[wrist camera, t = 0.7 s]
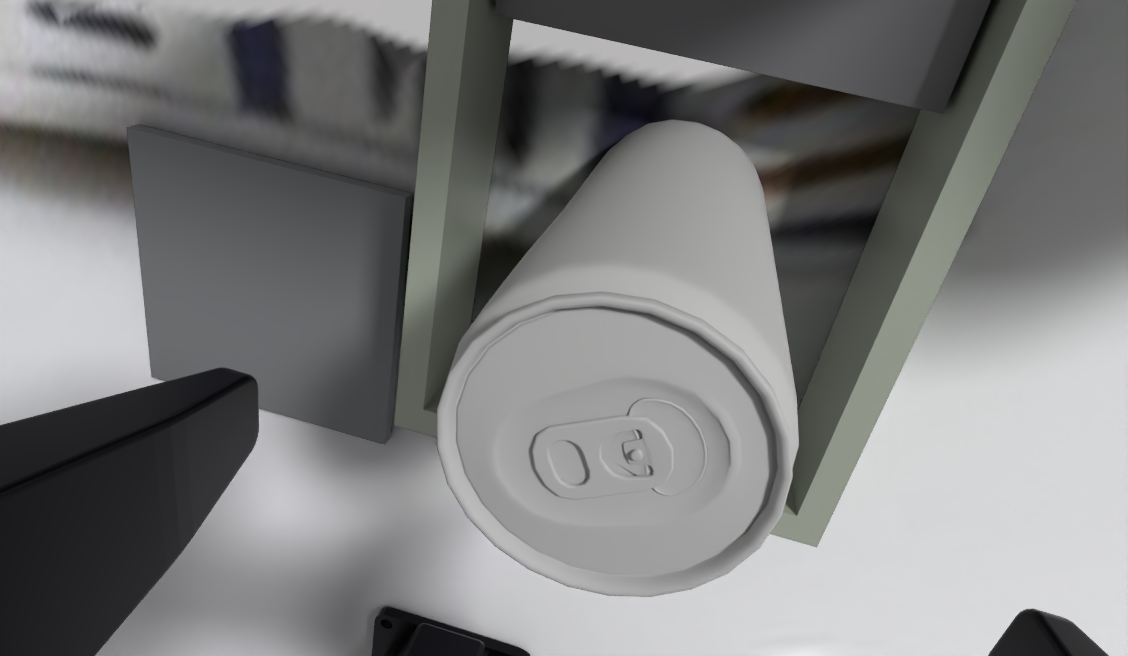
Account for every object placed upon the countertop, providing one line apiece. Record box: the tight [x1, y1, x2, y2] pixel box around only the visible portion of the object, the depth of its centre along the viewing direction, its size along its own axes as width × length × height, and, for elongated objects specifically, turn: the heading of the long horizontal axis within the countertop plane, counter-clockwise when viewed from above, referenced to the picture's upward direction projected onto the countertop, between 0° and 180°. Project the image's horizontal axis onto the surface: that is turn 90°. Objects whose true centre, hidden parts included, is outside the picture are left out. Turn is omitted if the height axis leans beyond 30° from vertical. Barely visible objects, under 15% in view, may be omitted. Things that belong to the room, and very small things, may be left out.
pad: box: [127, 125, 412, 445], centre depth 23 cm, size 9×9×1 cm
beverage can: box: [437, 119, 799, 597], centre depth 14 cm, size 5×5×12 cm
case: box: [394, 0, 1077, 547], centre depth 17 cm, size 16×12×4 cm
